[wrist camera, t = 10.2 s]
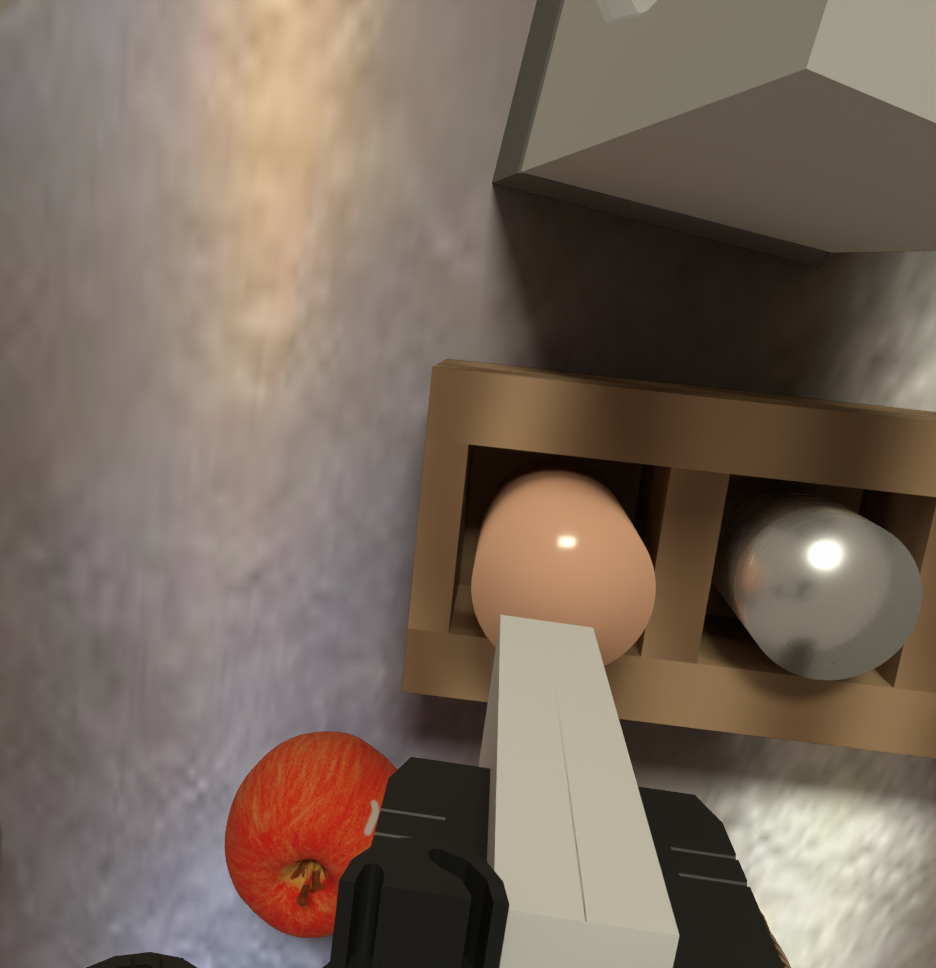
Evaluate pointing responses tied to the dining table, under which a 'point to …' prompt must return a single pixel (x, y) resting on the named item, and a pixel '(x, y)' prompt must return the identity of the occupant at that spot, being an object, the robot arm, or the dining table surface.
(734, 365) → the dining table surface
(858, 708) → the divided box
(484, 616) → the plug terracotta
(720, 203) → the alarm clock
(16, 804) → the dining table surface
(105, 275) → the dining table surface
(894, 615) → the plug mid
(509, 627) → the robot arm
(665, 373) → the dining table surface
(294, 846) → the apple
